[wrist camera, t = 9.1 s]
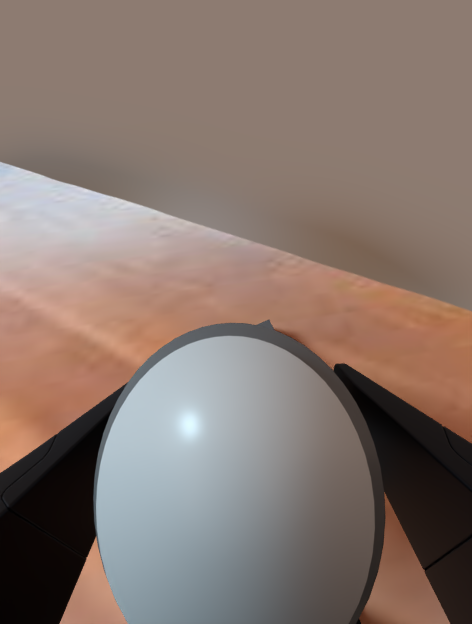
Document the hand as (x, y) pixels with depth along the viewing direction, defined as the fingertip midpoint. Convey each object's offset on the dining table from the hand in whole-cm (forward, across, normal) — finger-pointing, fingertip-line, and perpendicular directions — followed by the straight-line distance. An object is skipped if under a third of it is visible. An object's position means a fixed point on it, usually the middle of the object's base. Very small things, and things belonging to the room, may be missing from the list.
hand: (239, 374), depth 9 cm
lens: (+4, 0, +6) cm, 8 cm away
